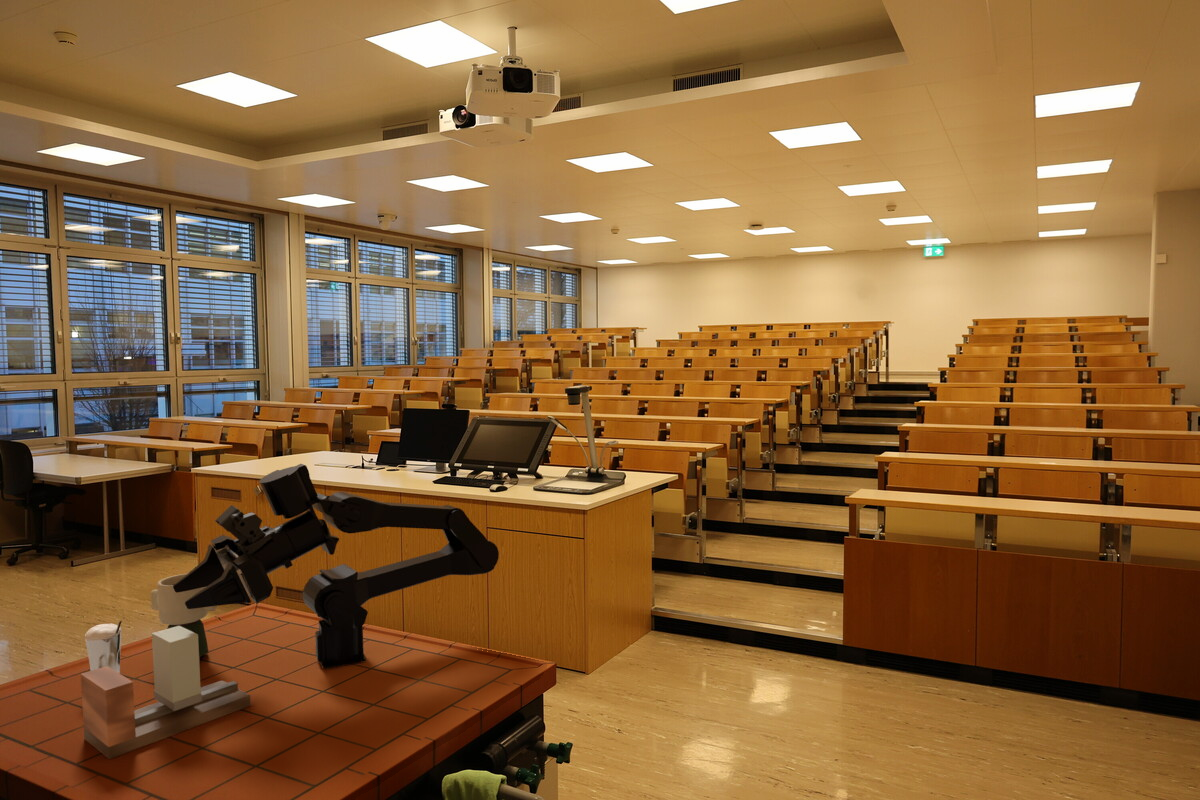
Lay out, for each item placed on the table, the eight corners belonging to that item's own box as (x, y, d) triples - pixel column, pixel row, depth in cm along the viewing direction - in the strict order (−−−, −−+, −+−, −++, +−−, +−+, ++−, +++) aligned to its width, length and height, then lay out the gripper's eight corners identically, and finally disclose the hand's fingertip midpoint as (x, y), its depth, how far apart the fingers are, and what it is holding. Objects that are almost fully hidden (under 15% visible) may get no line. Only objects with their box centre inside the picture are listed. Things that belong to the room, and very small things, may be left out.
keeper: (181, 689, 106) (178, 625, 106) (201, 701, 102) (198, 634, 102) (154, 698, 103) (150, 632, 103) (174, 711, 100) (170, 642, 99)
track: (222, 690, 112) (219, 632, 111) (250, 705, 107) (248, 645, 106) (84, 739, 98) (80, 673, 97) (109, 759, 93) (105, 690, 92)
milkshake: (111, 694, 111) (107, 626, 110) (80, 691, 112) (76, 624, 111) (136, 681, 115) (133, 615, 114) (106, 678, 116) (102, 613, 116)
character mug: (231, 651, 126) (228, 573, 125) (205, 669, 119) (201, 586, 118) (169, 649, 127) (165, 572, 127) (139, 667, 120) (135, 585, 119)
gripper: (249, 486, 122) (144, 535, 113) (283, 504, 107) (165, 562, 98) (277, 547, 125) (177, 599, 116) (314, 573, 110) (202, 634, 101)
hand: (179, 597), depth 108 cm, fingers open, 9 cm apart
